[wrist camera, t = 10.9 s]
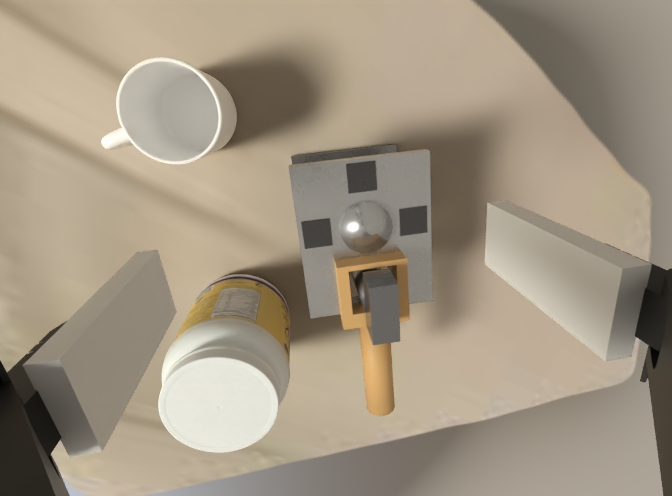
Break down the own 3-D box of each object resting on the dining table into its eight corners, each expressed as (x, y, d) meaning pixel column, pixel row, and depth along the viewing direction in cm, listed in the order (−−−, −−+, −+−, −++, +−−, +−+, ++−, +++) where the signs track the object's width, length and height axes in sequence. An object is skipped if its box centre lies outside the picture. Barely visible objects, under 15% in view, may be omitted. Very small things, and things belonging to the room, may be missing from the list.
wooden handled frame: (331, 249, 38) (336, 268, 33) (392, 241, 39) (407, 258, 34) (347, 388, 44) (353, 420, 39) (400, 379, 44) (413, 410, 40)
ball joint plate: (289, 154, 43) (288, 167, 32) (395, 142, 44) (432, 150, 32) (306, 273, 48) (310, 321, 37) (401, 259, 49) (434, 302, 37)
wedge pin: (340, 226, 45) (365, 288, 30) (365, 223, 45) (401, 283, 31) (344, 268, 47) (369, 345, 32) (367, 265, 47) (403, 340, 33)
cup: (250, 136, 42) (239, 142, 32) (151, 177, 42) (110, 195, 32) (216, 59, 39) (191, 40, 29) (110, 103, 39) (51, 98, 30)
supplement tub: (286, 355, 51) (284, 461, 36) (193, 351, 50) (148, 461, 34) (294, 273, 48) (295, 351, 32) (194, 266, 46) (143, 344, 30)
